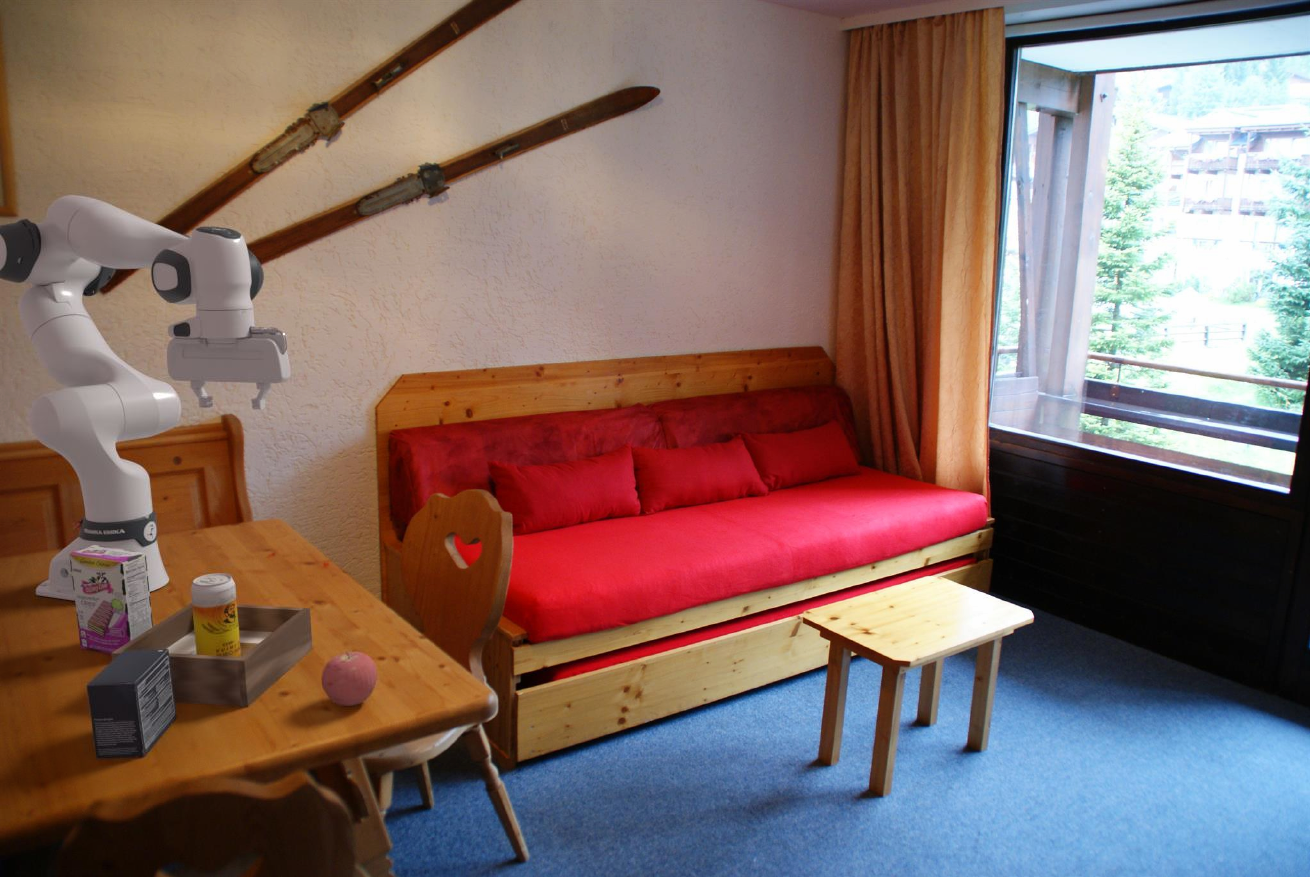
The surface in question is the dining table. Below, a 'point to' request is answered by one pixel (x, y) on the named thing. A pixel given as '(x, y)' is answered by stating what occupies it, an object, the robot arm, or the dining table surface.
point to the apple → (349, 678)
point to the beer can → (215, 615)
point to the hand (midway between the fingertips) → (232, 408)
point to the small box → (131, 703)
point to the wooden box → (234, 681)
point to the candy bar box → (110, 596)
